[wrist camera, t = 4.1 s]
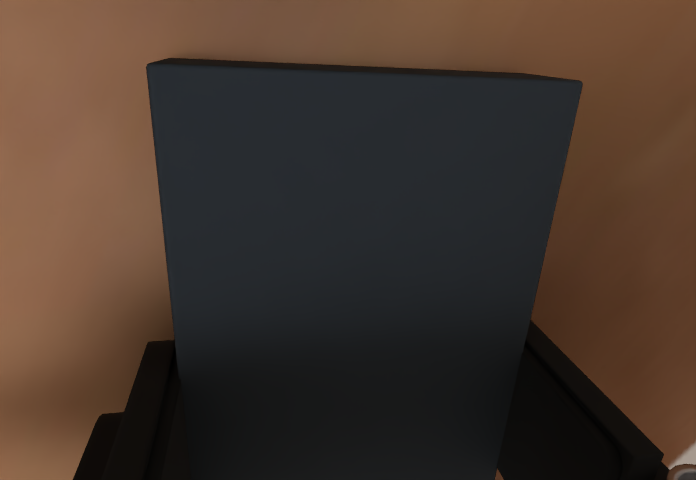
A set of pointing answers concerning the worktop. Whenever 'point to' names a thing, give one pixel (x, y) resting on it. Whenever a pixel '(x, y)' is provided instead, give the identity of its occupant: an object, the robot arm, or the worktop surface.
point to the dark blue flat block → (352, 260)
